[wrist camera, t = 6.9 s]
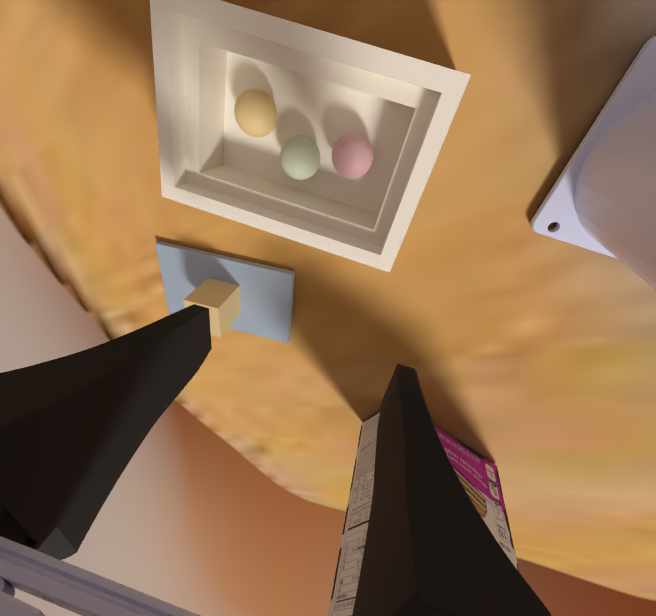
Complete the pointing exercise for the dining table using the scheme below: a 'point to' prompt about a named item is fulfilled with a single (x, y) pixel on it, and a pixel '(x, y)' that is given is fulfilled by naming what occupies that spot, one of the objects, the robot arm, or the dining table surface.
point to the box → (296, 126)
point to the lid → (228, 290)
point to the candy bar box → (467, 464)
